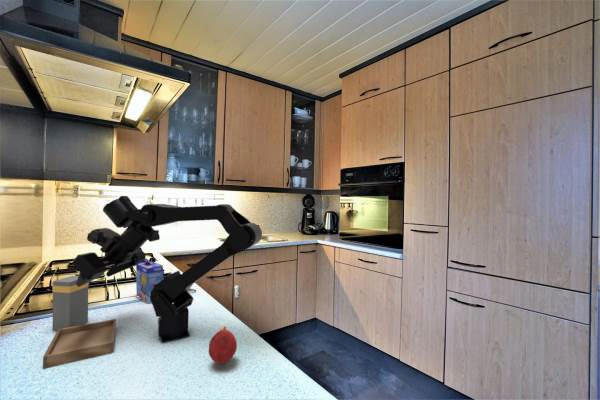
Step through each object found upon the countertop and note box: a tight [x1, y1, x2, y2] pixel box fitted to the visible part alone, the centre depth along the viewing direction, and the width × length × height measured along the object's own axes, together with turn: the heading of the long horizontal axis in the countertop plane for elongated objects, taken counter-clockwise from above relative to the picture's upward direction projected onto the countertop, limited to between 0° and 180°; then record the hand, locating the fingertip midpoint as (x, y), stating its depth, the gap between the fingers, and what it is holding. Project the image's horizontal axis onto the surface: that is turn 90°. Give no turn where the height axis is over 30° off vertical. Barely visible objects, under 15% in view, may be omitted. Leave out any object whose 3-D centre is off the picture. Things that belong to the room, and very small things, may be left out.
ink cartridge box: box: [135, 258, 164, 305], centre depth 97 cm, size 10×6×14 cm, turn 51°
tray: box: [42, 318, 117, 369], centre depth 66 cm, size 12×14×2 cm
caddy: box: [51, 275, 90, 332], centre depth 76 cm, size 5×6×13 cm
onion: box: [208, 325, 238, 366], centre depth 59 cm, size 6×6×8 cm
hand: (93, 280), depth 75 cm, fingers open, 9 cm apart
